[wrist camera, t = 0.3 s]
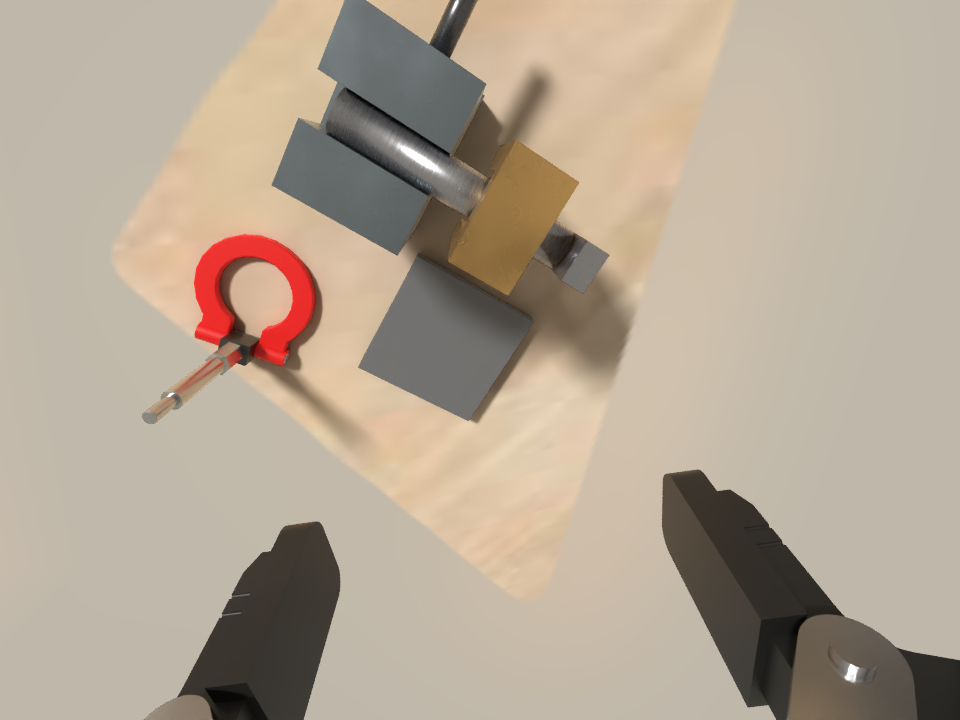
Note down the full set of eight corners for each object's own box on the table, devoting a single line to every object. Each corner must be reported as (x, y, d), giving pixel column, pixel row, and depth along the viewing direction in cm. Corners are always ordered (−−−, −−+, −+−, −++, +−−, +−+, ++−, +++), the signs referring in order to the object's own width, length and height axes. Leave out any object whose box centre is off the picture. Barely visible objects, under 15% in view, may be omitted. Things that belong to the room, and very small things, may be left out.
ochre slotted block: (500, 145, 24) (516, 140, 18) (547, 177, 25) (579, 182, 18) (450, 236, 26) (448, 261, 19) (495, 263, 27) (508, 296, 20)
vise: (408, -65, 27) (360, -290, 13) (624, 96, 31) (752, 45, 17) (308, 174, 32) (199, 182, 18) (505, 288, 35) (534, 364, 22)
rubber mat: (418, 253, 34) (417, 256, 33) (531, 317, 36) (533, 322, 35) (361, 361, 37) (358, 367, 36) (468, 413, 40) (468, 420, 38)
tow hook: (214, 215, 33) (189, 331, 36) (80, 233, 21) (59, 405, 24) (330, 259, 34) (298, 366, 37) (268, 299, 22) (228, 453, 25)
